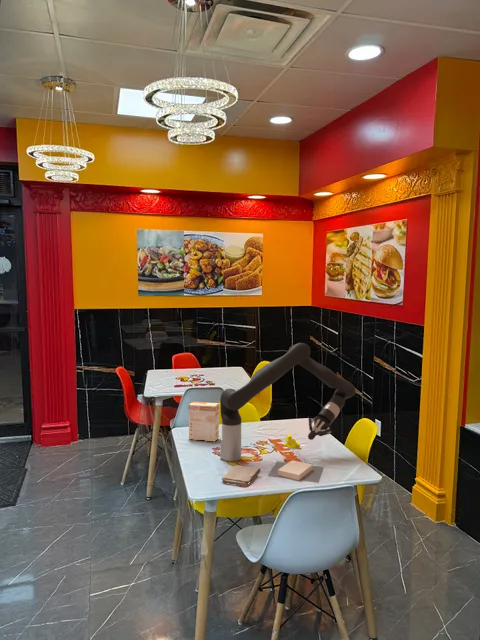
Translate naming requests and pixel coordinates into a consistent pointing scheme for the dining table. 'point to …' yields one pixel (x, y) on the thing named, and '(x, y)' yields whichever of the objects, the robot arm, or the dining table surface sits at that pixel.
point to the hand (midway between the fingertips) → (309, 438)
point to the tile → (295, 470)
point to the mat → (311, 477)
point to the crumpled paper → (291, 442)
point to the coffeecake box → (204, 421)
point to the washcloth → (240, 475)
